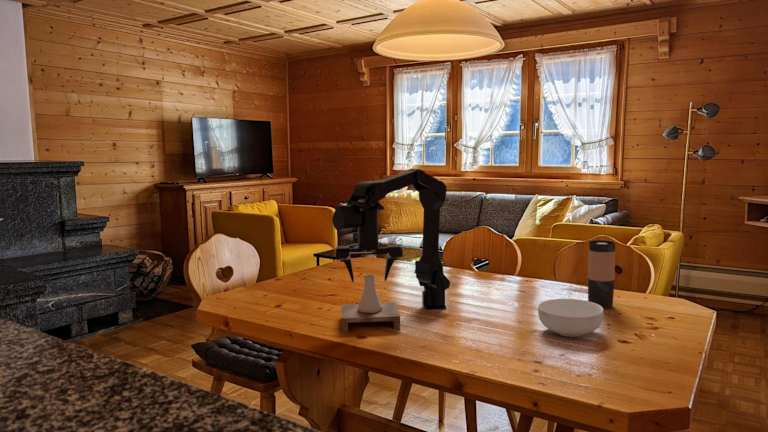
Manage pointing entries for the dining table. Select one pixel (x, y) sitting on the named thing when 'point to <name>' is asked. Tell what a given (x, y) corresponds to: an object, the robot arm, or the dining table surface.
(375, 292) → the flask
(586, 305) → the cereal bowl
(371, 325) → the dining table surface
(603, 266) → the travel mug
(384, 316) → the walnut shelf
